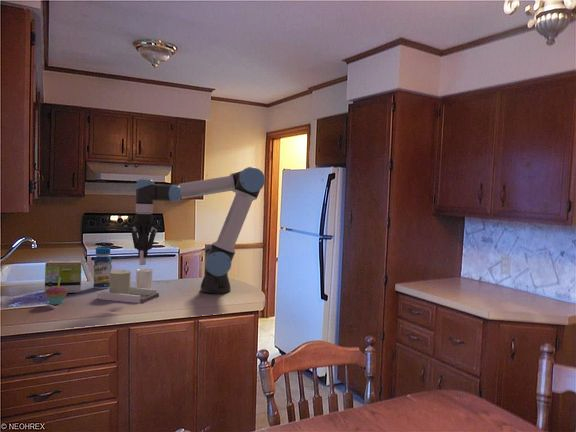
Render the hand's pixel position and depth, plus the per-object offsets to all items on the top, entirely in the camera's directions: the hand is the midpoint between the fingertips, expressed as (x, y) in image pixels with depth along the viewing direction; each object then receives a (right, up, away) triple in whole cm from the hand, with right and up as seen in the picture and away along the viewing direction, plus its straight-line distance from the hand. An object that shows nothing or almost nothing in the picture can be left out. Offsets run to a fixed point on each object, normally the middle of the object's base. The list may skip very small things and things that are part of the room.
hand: (142, 264), depth 195 cm
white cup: (-6, -15, +18) cm, 24 cm away
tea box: (-41, -14, +9) cm, 44 cm away
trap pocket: (+1, -16, 0) cm, 16 cm away
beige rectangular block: (-12, -15, +3) cm, 20 cm away
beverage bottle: (-27, -14, +21) cm, 37 cm away
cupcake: (-33, -15, -13) cm, 38 cm away
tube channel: (-8, -15, +2) cm, 17 cm away
